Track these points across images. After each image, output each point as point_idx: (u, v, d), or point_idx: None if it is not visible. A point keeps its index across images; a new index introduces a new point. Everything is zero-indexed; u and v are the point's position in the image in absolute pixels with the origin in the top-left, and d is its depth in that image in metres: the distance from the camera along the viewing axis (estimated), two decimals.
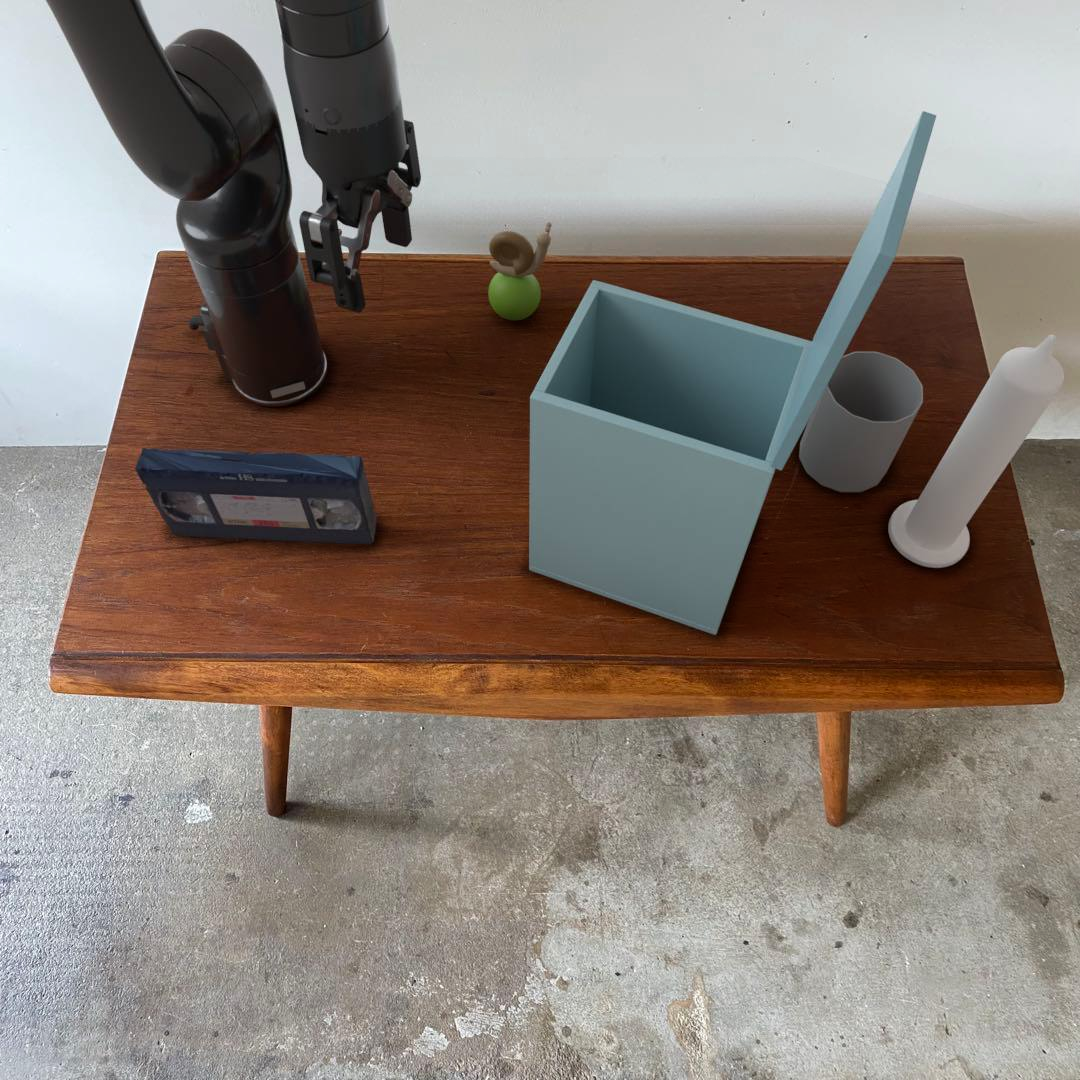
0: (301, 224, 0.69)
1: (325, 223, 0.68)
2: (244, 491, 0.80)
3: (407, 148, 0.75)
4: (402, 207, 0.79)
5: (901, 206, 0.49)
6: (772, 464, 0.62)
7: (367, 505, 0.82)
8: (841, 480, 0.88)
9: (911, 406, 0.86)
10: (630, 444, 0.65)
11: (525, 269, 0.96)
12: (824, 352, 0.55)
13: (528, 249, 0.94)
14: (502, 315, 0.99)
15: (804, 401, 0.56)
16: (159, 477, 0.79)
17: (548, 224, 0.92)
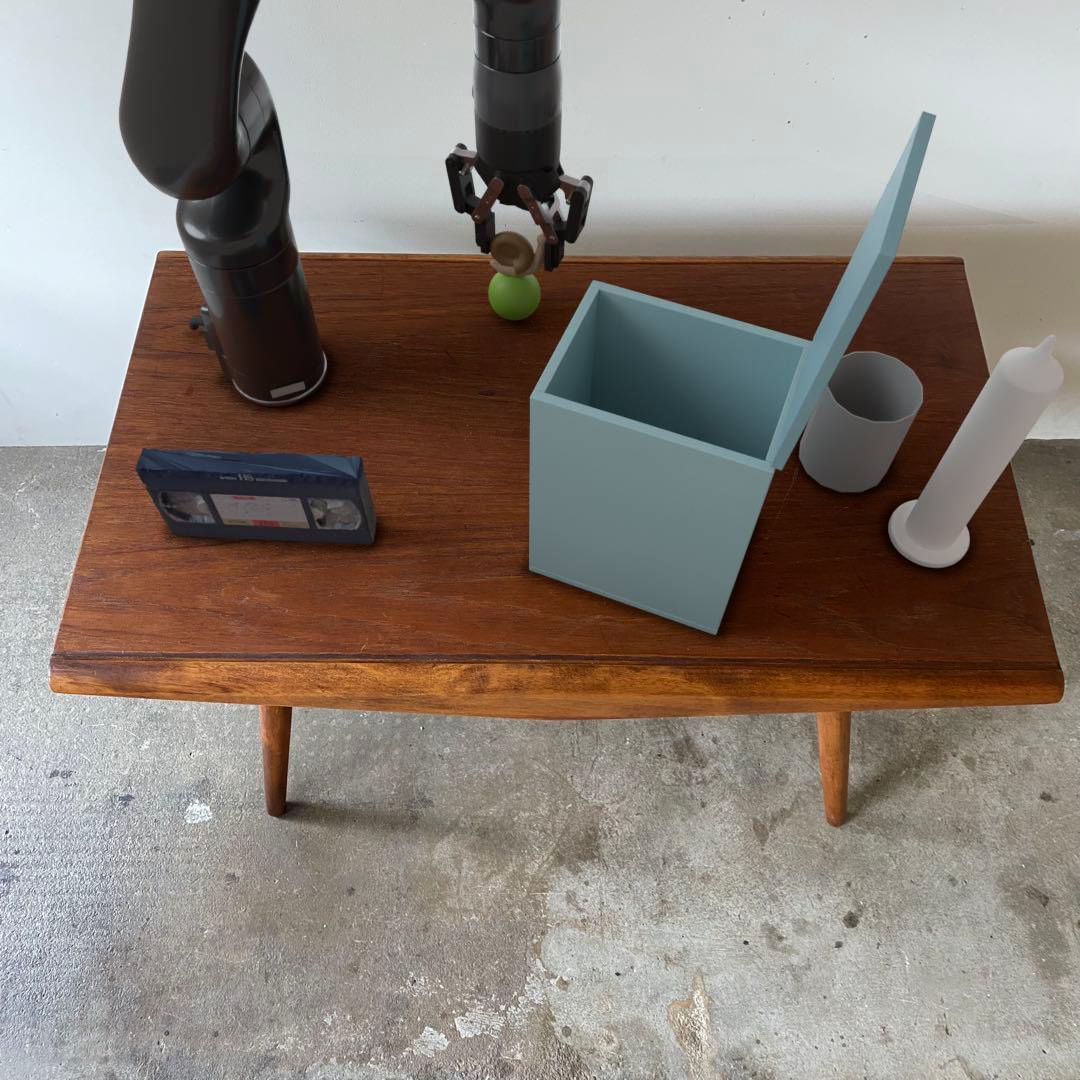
0: None
1: (448, 156, 0.88)
2: (244, 491, 0.80)
3: (567, 203, 0.87)
4: None
5: (901, 206, 0.49)
6: (772, 464, 0.62)
7: (367, 505, 0.82)
8: (841, 480, 0.88)
9: (911, 406, 0.86)
10: (630, 444, 0.65)
11: (525, 269, 0.96)
12: (824, 352, 0.55)
13: (528, 249, 0.94)
14: (502, 315, 0.99)
15: (804, 401, 0.56)
16: (159, 477, 0.79)
17: None
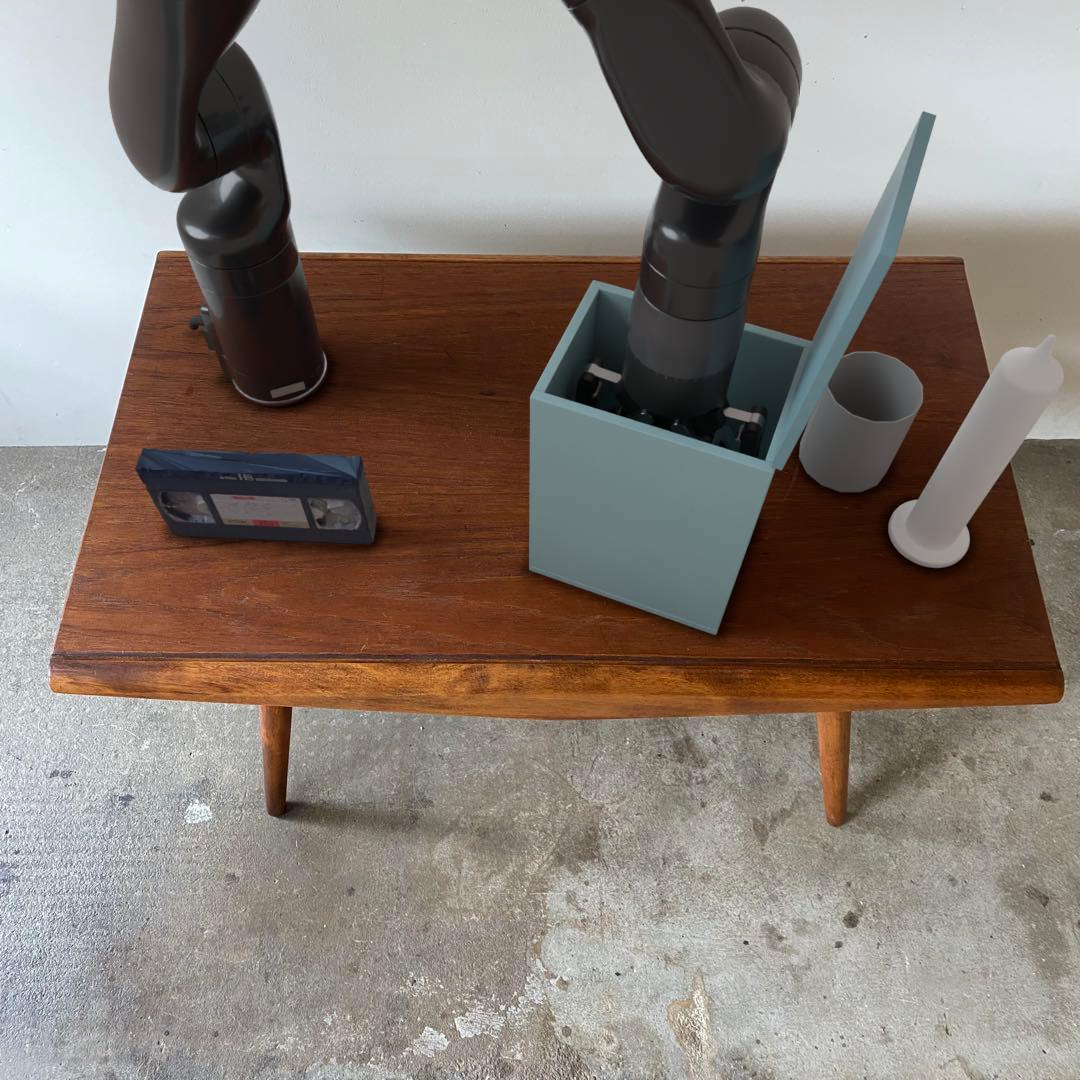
0: None
1: (583, 375, 0.70)
2: (244, 491, 0.80)
3: (737, 442, 0.69)
4: None
5: (901, 206, 0.49)
6: (772, 464, 0.62)
7: (367, 505, 0.82)
8: (841, 480, 0.88)
9: (911, 406, 0.86)
10: (630, 444, 0.65)
11: None
12: (824, 352, 0.55)
13: None
14: None
15: (804, 401, 0.56)
16: (159, 477, 0.79)
17: None
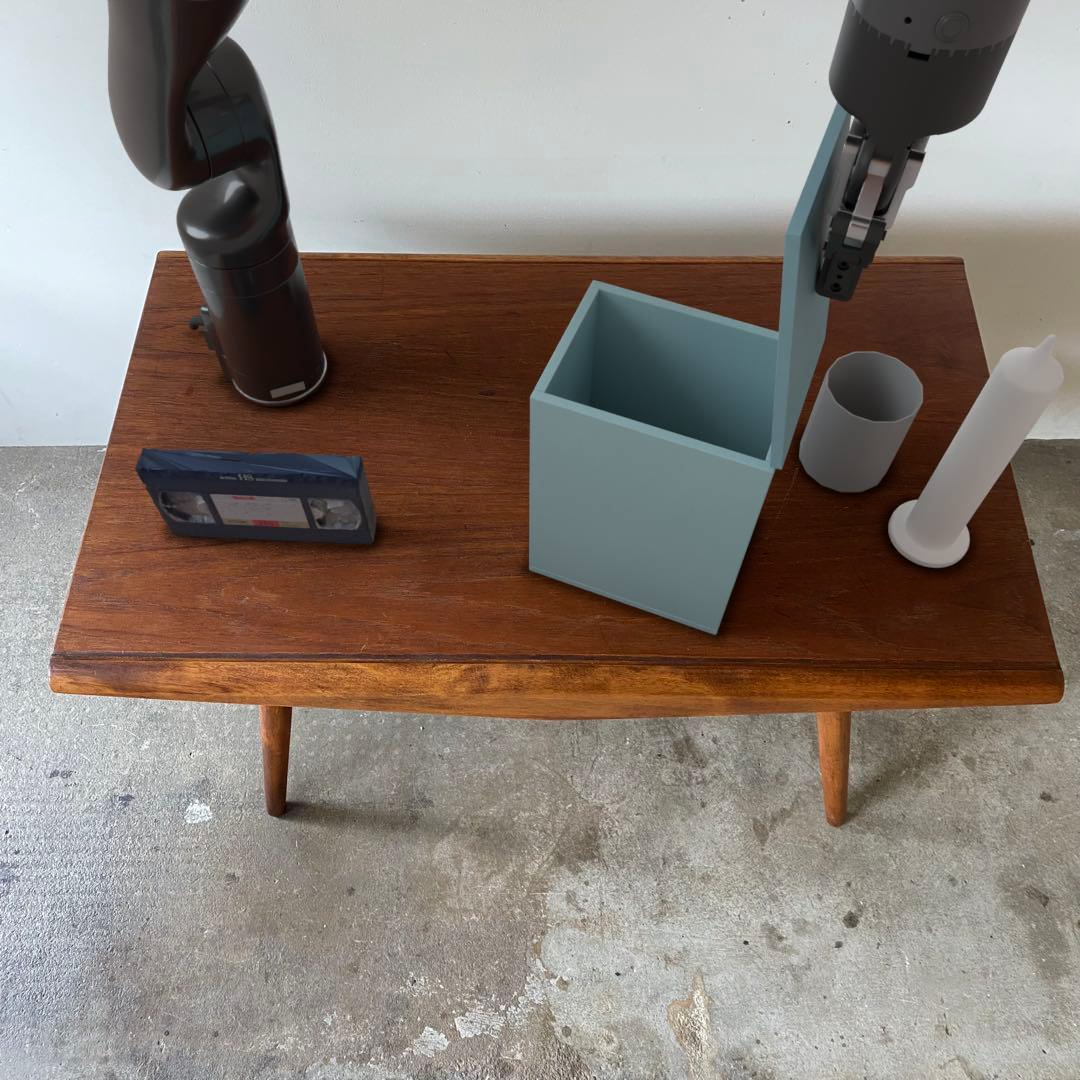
0: (832, 235, 0.48)
1: (873, 237, 0.47)
2: (244, 491, 0.80)
3: None
4: None
5: (811, 187, 0.50)
6: (771, 464, 0.62)
7: (367, 505, 0.82)
8: (841, 480, 0.88)
9: (911, 406, 0.86)
10: (630, 444, 0.65)
11: None
12: None
13: None
14: None
15: (775, 394, 0.57)
16: (159, 477, 0.79)
17: None
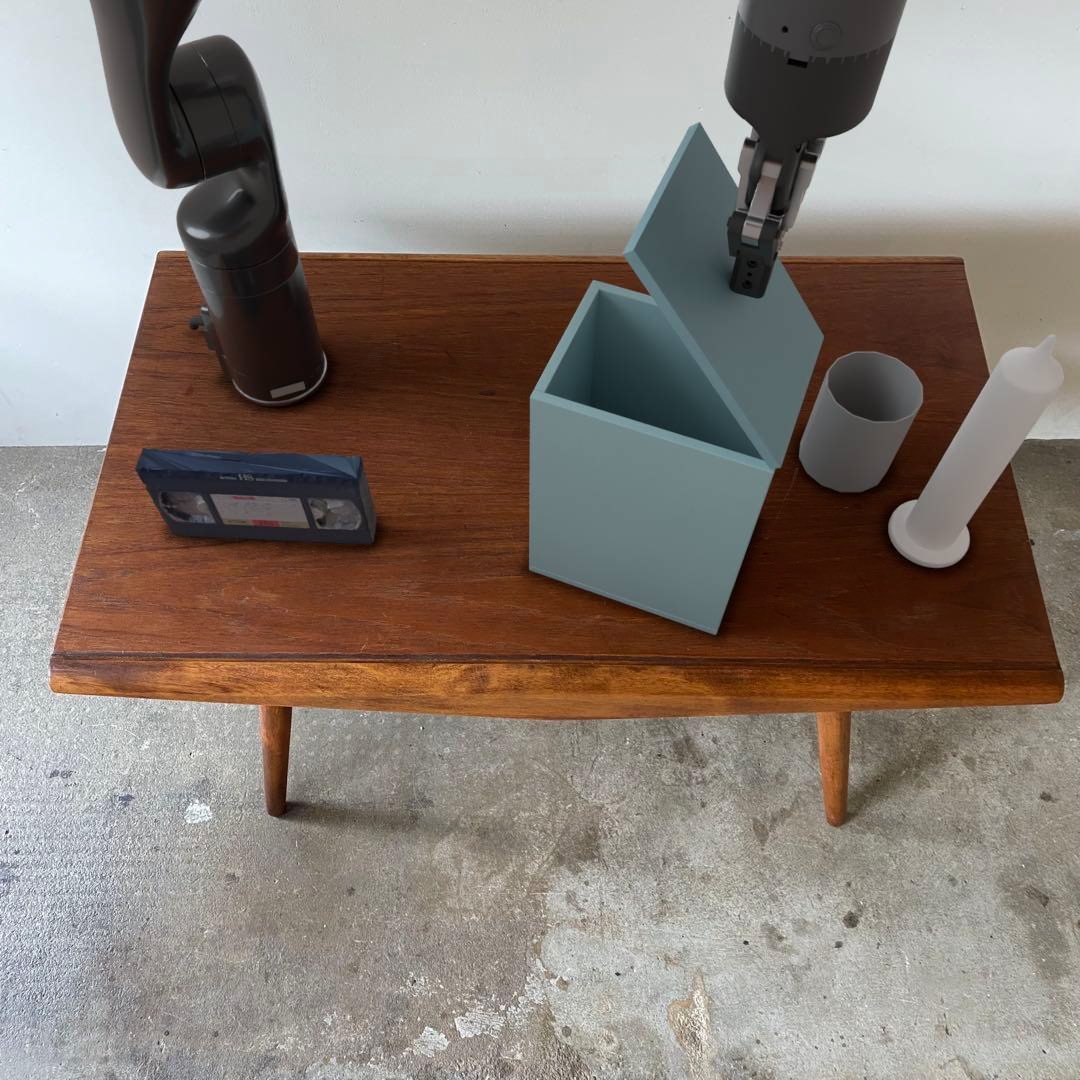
0: (730, 234, 0.50)
1: (767, 236, 0.49)
2: (244, 491, 0.80)
3: None
4: None
5: (650, 208, 0.54)
6: (769, 466, 0.62)
7: (367, 505, 0.82)
8: (841, 480, 0.88)
9: (911, 406, 0.86)
10: (630, 444, 0.65)
11: None
12: None
13: None
14: None
15: (722, 397, 0.59)
16: (159, 477, 0.79)
17: None
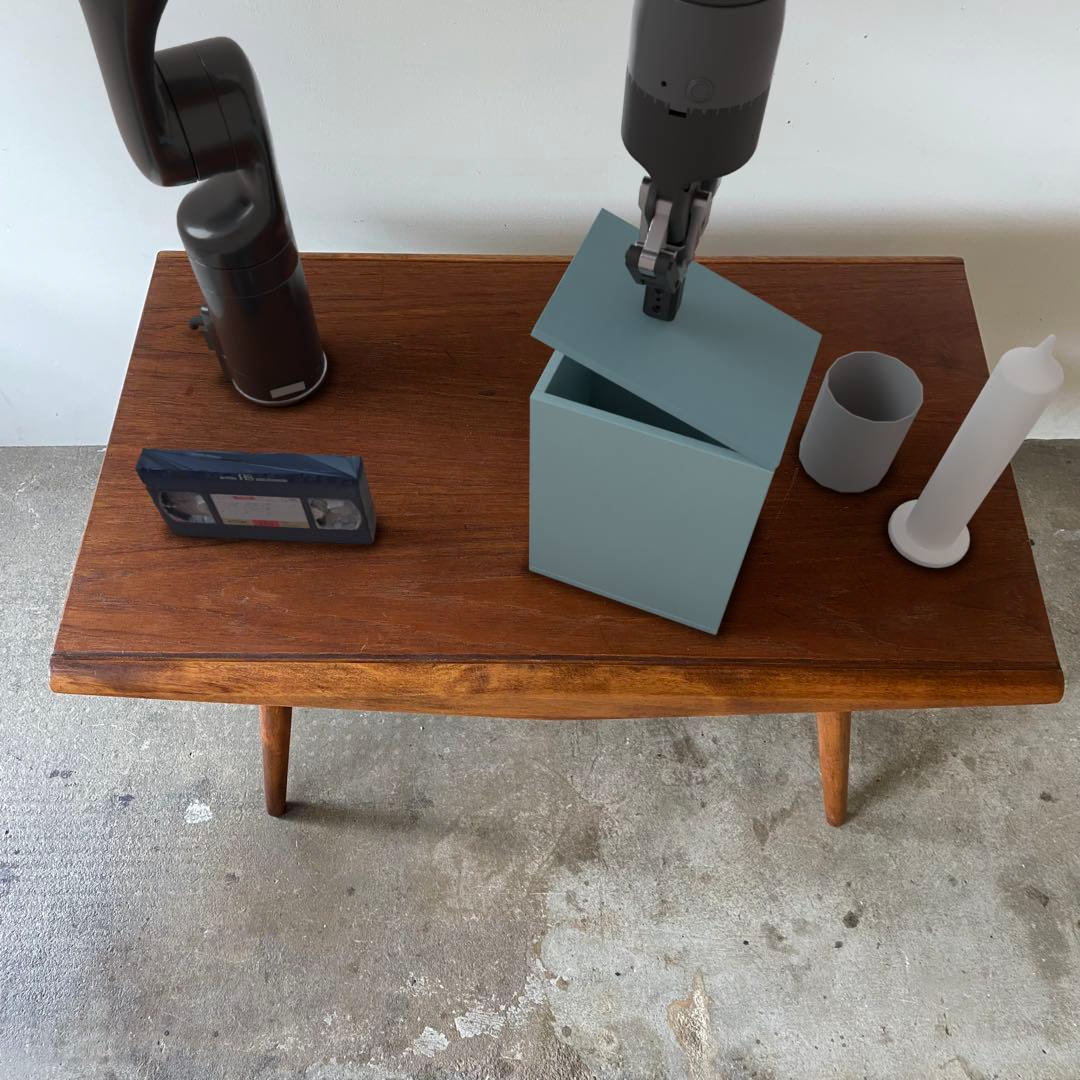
0: (628, 266, 0.54)
1: (660, 268, 0.53)
2: (244, 491, 0.80)
3: None
4: None
5: None
6: (769, 468, 0.62)
7: (367, 505, 0.82)
8: (841, 480, 0.88)
9: (911, 406, 0.86)
10: (630, 444, 0.65)
11: None
12: None
13: None
14: None
15: (684, 421, 0.62)
16: (159, 477, 0.79)
17: None
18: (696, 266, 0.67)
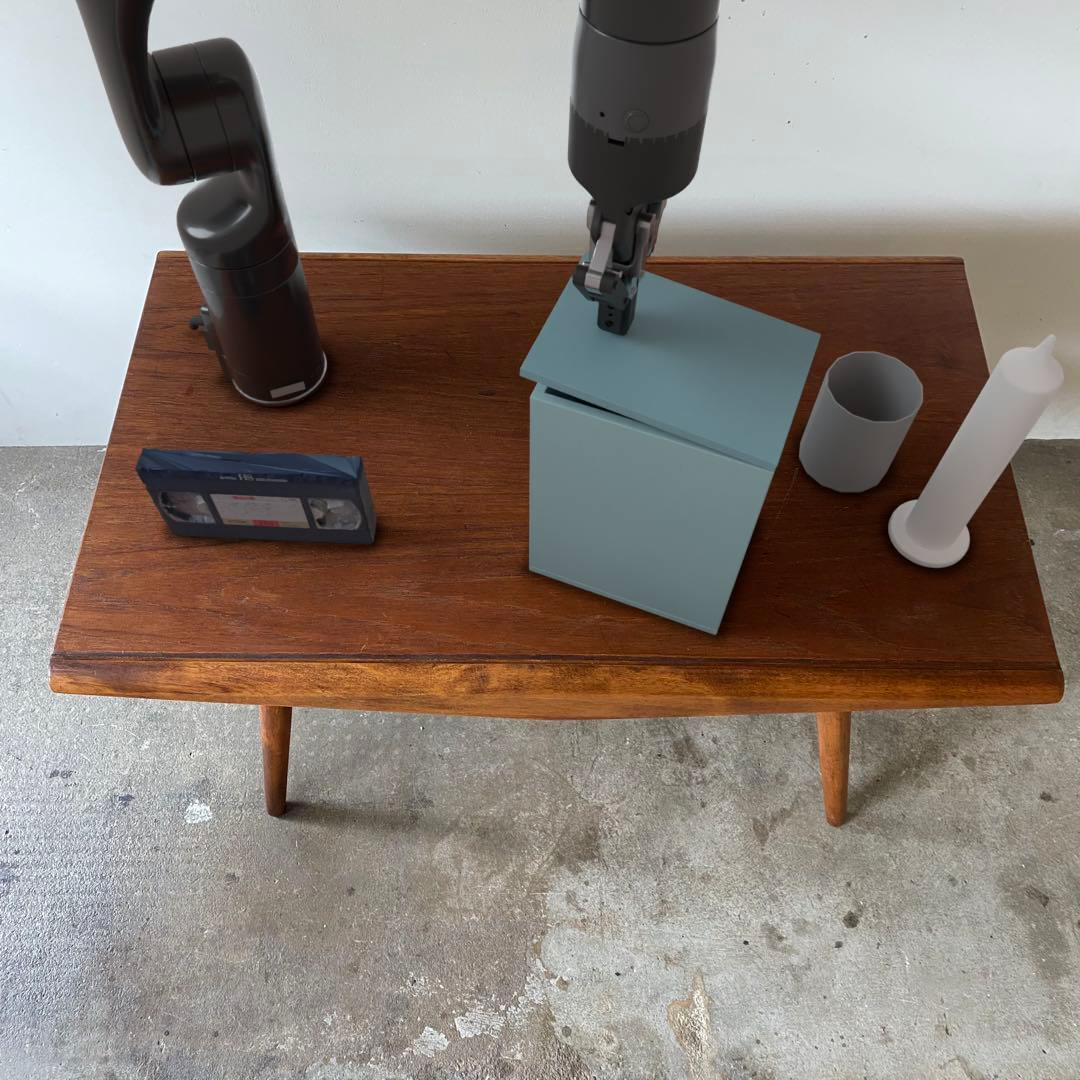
0: (575, 284, 0.56)
1: (605, 287, 0.56)
2: (244, 491, 0.80)
3: None
4: None
5: None
6: (769, 469, 0.62)
7: (367, 505, 0.82)
8: (841, 480, 0.88)
9: (911, 406, 0.86)
10: (630, 444, 0.65)
11: None
12: None
13: None
14: None
15: (678, 435, 0.63)
16: (159, 477, 0.79)
17: None
18: (684, 289, 0.69)
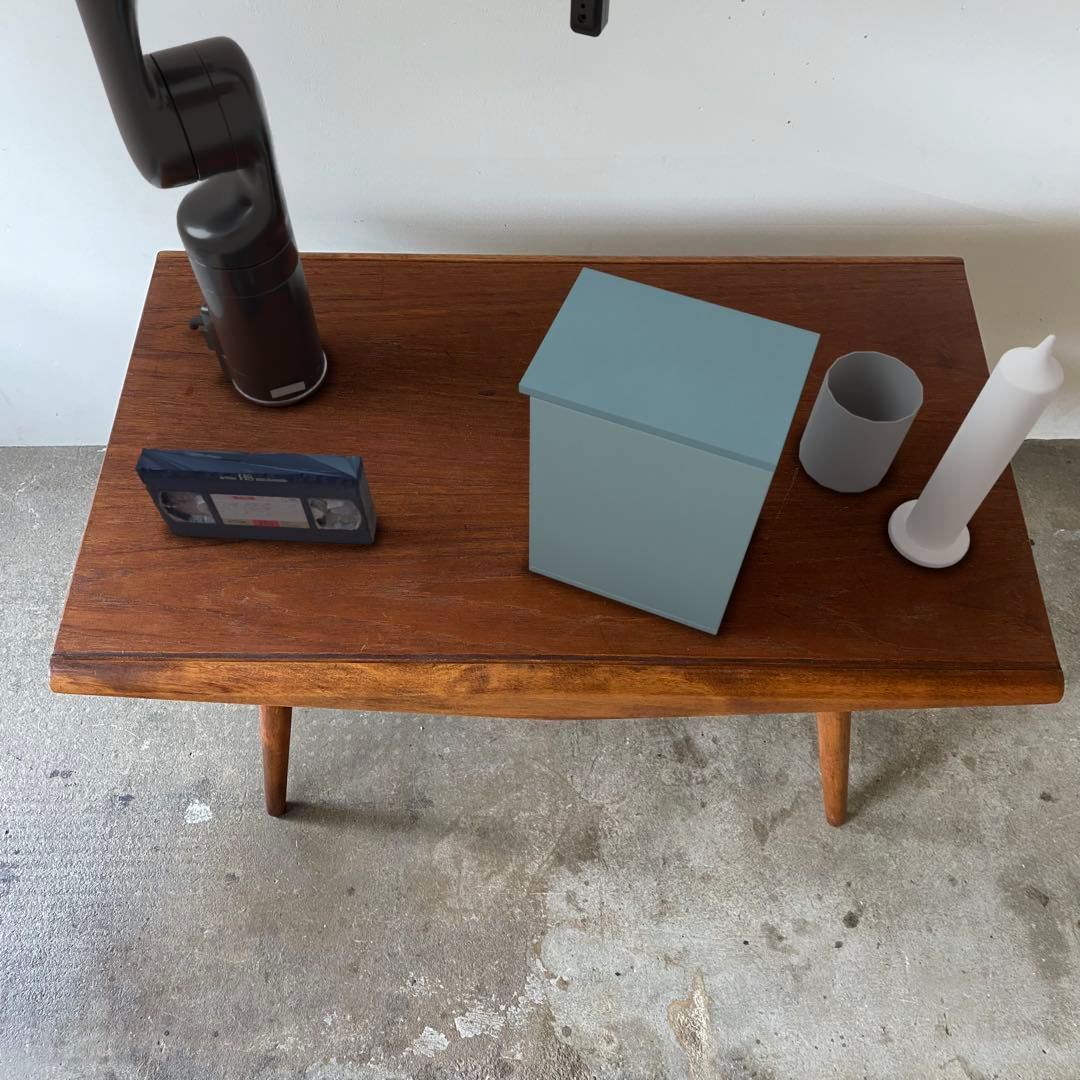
0: None
1: None
2: (244, 491, 0.80)
3: None
4: None
5: None
6: (770, 470, 0.62)
7: (367, 505, 0.82)
8: (841, 480, 0.88)
9: (911, 406, 0.86)
10: (630, 444, 0.65)
11: None
12: None
13: None
14: None
15: (677, 441, 0.63)
16: (159, 477, 0.79)
17: None
18: (681, 298, 0.70)
